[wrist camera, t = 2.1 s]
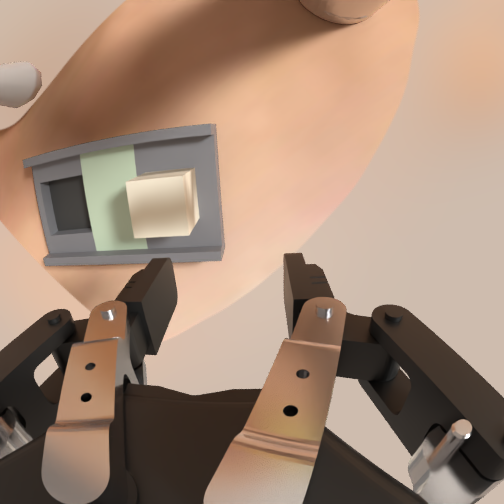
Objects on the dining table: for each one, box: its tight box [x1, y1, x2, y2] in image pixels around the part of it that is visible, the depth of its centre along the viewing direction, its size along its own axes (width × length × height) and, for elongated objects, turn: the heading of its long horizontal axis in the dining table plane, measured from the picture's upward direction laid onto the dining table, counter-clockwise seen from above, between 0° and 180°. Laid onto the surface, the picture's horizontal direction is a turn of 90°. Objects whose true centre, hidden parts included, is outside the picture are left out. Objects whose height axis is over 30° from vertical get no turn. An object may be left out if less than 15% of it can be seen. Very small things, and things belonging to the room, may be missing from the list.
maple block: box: [126, 168, 200, 238], centre depth 26 cm, size 5×5×5 cm
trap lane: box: [23, 124, 225, 266], centre depth 29 cm, size 13×22×4 cm, turn 93°
